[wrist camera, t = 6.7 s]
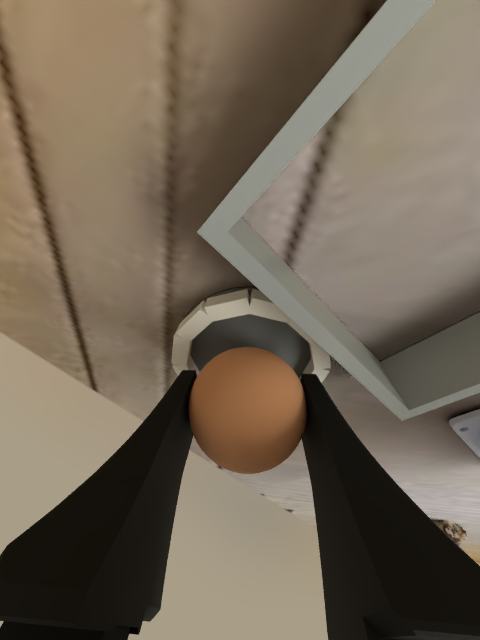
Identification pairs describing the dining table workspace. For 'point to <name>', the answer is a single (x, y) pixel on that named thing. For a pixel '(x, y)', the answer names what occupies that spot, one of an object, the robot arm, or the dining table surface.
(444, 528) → the mineral rock
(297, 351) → the ring
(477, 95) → the dining table surface
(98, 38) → the dining table surface
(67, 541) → the robot arm
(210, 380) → the orange ball
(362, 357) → the low pen
